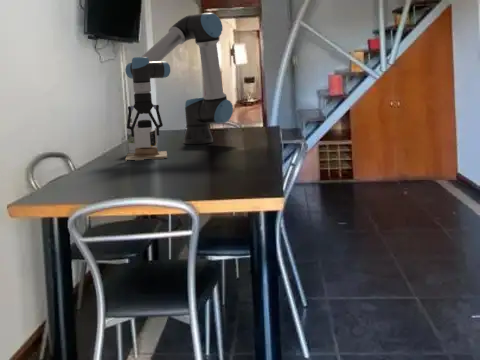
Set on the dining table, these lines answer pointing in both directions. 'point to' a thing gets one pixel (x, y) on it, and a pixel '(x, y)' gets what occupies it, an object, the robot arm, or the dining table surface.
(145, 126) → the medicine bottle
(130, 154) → the base board
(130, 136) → the syrup box
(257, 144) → the dining table surface
